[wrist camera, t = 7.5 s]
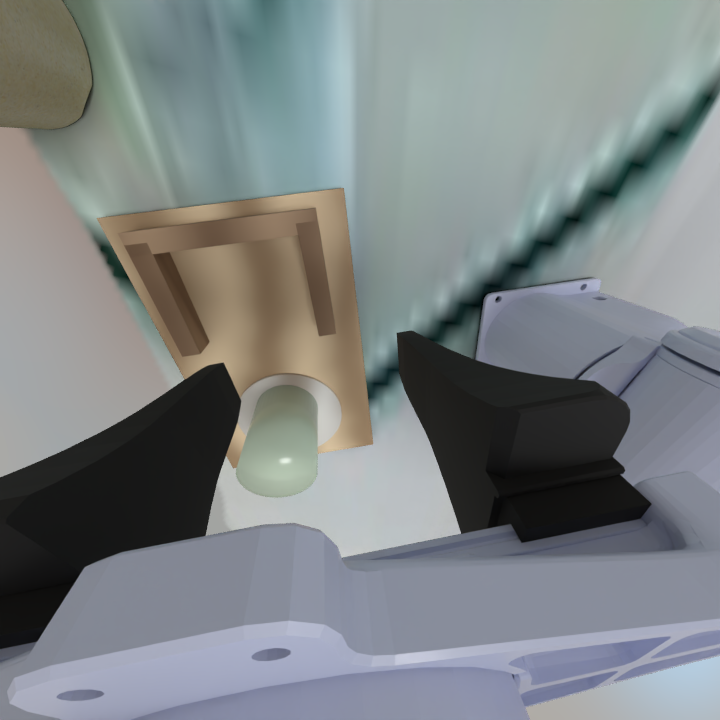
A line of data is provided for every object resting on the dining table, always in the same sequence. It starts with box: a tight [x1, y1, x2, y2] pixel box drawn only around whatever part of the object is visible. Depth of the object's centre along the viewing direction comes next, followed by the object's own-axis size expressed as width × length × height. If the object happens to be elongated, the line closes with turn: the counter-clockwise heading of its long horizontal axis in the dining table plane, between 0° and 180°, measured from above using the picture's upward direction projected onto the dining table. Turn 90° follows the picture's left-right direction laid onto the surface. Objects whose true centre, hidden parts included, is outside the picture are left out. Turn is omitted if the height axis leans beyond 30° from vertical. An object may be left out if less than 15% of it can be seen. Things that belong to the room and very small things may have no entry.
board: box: [97, 188, 373, 468], centre depth 21 cm, size 14×22×3 cm, turn 6°
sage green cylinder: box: [236, 385, 318, 497], centre depth 21 cm, size 5×8×6 cm, turn 6°
